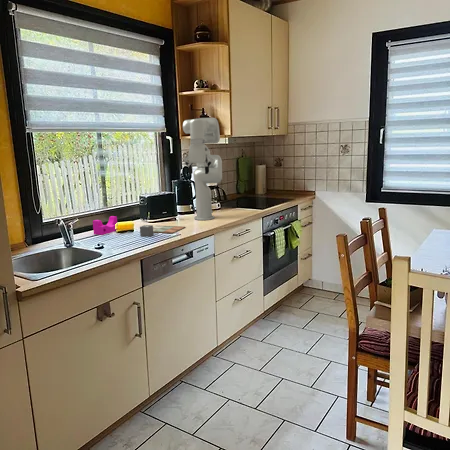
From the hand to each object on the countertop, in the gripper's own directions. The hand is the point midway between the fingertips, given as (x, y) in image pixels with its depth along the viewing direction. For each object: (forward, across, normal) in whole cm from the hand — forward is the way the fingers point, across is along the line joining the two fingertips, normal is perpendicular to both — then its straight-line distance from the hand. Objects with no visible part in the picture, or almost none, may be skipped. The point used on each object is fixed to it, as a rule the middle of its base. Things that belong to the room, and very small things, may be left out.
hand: (198, 173), depth 235 cm
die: (+30, +20, +26) cm, 45 cm away
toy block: (+31, +48, +22) cm, 61 cm away
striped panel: (+30, +17, +12) cm, 37 cm away
